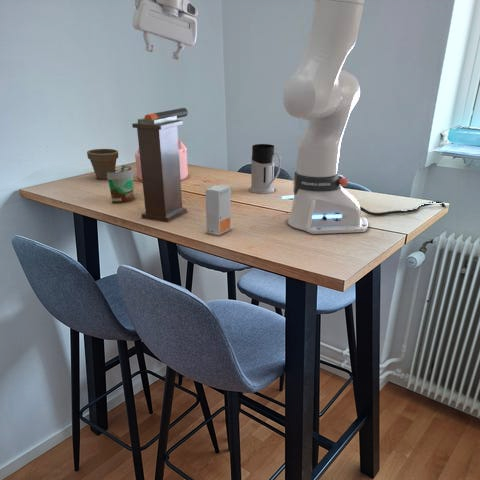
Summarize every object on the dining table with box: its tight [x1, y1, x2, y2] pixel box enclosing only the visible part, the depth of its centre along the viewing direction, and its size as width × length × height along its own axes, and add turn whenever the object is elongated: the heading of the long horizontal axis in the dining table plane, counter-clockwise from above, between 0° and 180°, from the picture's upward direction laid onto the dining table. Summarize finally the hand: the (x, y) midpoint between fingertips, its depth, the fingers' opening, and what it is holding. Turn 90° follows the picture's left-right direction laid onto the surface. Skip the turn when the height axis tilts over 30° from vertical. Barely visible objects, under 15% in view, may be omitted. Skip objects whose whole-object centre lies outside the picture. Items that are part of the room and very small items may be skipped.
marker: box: [143, 107, 189, 120], centre depth 132 cm, size 19×2×2 cm, turn 156°
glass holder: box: [249, 143, 282, 194], centre depth 161 cm, size 9×14×15 cm, turn 33°
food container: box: [107, 164, 135, 204], centre depth 153 cm, size 12×6×10 cm, turn 168°
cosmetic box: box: [205, 184, 232, 236], centre depth 125 cm, size 6×4×12 cm
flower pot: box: [86, 148, 119, 181], centre depth 180 cm, size 12×11×10 cm
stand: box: [131, 115, 188, 223], centre depth 135 cm, size 12×9×27 cm
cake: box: [134, 139, 189, 181], centre depth 180 cm, size 20×20×14 cm
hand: (162, 55), depth 140 cm, fingers open, 8 cm apart
